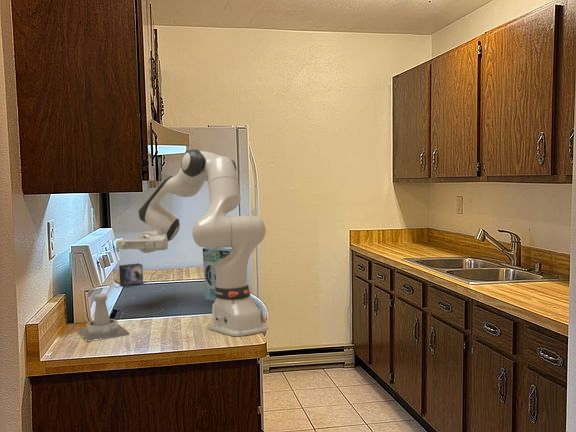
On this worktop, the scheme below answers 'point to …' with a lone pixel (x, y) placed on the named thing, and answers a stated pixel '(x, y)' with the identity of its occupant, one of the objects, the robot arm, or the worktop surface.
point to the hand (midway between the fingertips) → (134, 246)
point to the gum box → (212, 269)
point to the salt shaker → (101, 310)
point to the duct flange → (102, 330)
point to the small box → (131, 274)
